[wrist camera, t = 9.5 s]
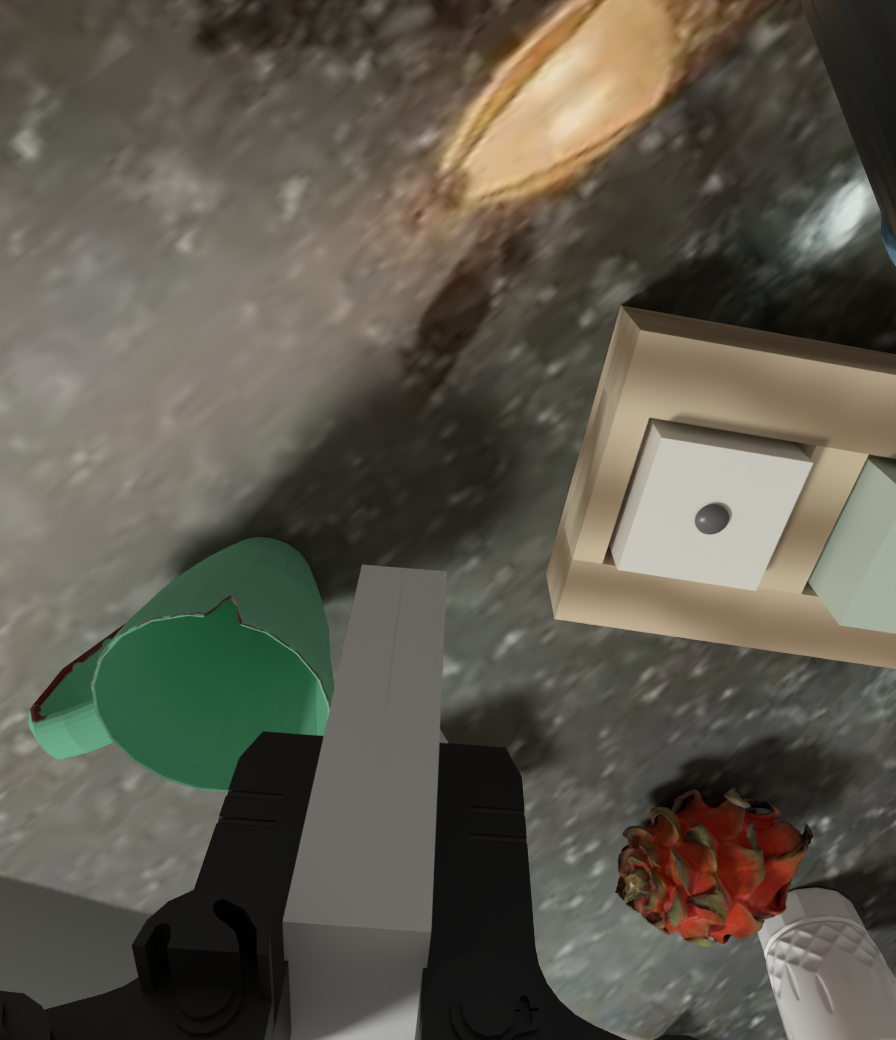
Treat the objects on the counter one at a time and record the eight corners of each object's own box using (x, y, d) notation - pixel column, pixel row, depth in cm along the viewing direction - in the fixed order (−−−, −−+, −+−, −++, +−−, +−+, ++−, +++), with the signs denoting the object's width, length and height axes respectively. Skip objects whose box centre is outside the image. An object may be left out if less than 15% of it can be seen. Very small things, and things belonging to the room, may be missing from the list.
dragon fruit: (583, 808, 50) (754, 745, 50) (633, 937, 49) (809, 873, 48) (595, 846, 42) (800, 771, 41) (656, 1002, 41) (868, 927, 40)
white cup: (868, 934, 54) (947, 1095, 45) (758, 959, 56) (814, 1118, 47) (851, 868, 51) (933, 1029, 42) (734, 896, 52) (790, 1056, 44)
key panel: (620, 305, 33) (640, 330, 29) (1231, 414, 35) (1318, 449, 31) (545, 572, 39) (554, 619, 36) (1061, 650, 41) (1116, 701, 38)
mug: (310, 467, 37) (264, 583, 28) (388, 621, 41) (369, 762, 32) (55, 554, 39) (-61, 685, 30) (154, 690, 44) (78, 838, 35)
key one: (640, 402, 34) (662, 439, 30) (777, 425, 34) (814, 464, 31) (602, 525, 37) (617, 571, 33) (727, 544, 37) (757, 592, 34)
